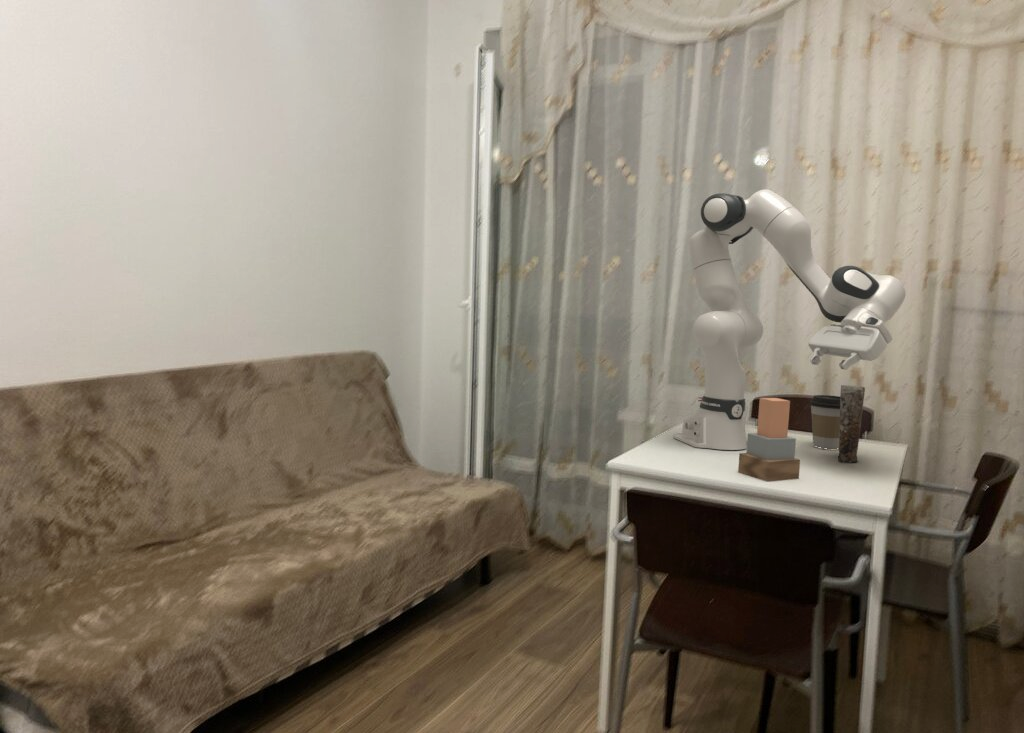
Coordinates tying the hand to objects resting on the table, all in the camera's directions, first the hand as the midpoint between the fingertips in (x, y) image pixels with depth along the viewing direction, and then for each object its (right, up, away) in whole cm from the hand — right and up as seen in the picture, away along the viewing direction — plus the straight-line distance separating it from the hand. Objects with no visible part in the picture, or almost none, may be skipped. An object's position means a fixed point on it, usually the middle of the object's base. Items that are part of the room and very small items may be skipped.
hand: (827, 365), depth 200 cm
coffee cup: (+13, -24, +34) cm, 44 cm away
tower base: (-17, -27, -6) cm, 33 cm away
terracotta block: (-16, -17, -6) cm, 24 cm away
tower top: (-16, -22, -6) cm, 28 cm away
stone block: (+13, -26, +19) cm, 34 cm away
